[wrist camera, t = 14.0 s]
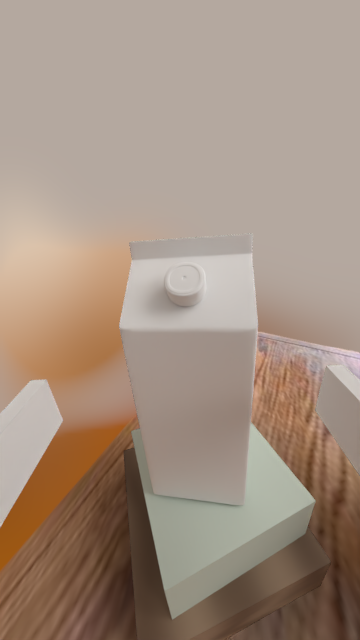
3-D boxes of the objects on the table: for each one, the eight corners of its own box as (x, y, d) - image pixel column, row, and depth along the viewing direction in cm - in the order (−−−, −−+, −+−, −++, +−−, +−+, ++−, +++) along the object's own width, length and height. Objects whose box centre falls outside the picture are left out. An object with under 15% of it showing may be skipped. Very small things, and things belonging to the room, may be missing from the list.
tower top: (228, 424, 29) (229, 395, 27) (305, 533, 19) (315, 500, 17) (138, 461, 26) (131, 431, 24) (172, 619, 15) (164, 591, 13)
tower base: (233, 440, 33) (234, 415, 31) (319, 587, 19) (331, 562, 17) (130, 475, 29) (123, 450, 27) (149, 684, 16) (139, 667, 14)
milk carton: (170, 422, 24) (146, 237, 17) (237, 427, 23) (245, 230, 15) (153, 495, 18) (101, 249, 10) (244, 507, 17) (265, 239, 9)
